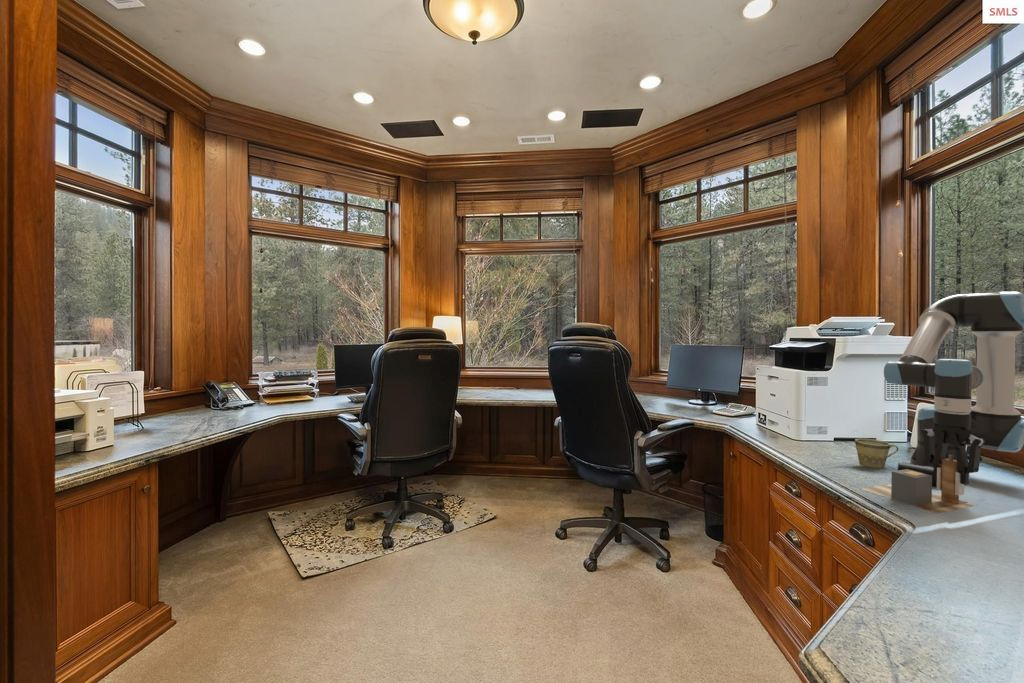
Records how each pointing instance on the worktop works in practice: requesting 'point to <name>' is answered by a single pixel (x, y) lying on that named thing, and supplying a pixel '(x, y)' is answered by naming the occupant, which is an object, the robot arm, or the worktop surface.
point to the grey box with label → (911, 487)
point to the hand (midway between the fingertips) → (950, 491)
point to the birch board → (935, 506)
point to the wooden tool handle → (949, 480)
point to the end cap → (919, 470)
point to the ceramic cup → (873, 452)
